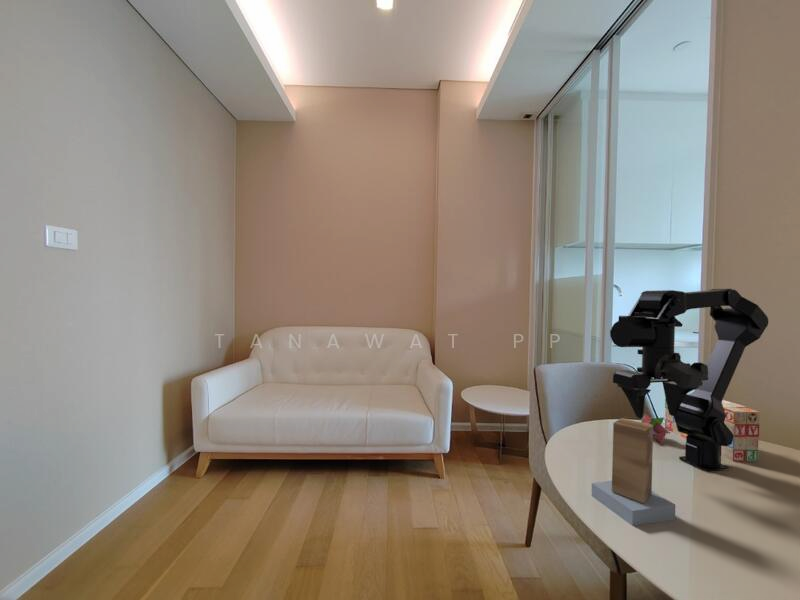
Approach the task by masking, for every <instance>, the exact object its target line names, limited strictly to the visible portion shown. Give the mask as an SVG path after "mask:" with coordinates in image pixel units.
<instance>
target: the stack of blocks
mask: <svg viewBox="0 0 800 600" xmlns="http://www.w3.org/2000/svg"><path fill="white" fill-rule="evenodd" d="M664 399H665V400H664V408H665V409H664V410H665V411H664V412H665V414H664V418H665V420H664V425H665V426H664V428H665V429H666V430H668V431H669V432H672V433H674V434H676V435H678V436H680V437H683V438H684V439H686V436H688V435H687V434H685V433H682V432H678V430H677V426H676V422H675V419H674V416H672V415H670V414H669V411H668V407H667V402H666V397H665V398H664ZM722 405H723V408H724V411H725V414H726V417H725V421H724V423H725V425H726V426H727V427H728V428H729V430H730V431H731V432H732V433H733V435H734V437H733V441H732V444H729V446H721V457H723V458H725V459H727V460H729V461H731V462H741V463H742V462H752V463H753V462H755V463H757V462H759V461H758V460H759V442H760V441H759V437H760V417H761V412H760V411H758V410H755V409H753V408H749V407H747V406H745V405H742V404H738V403H735V402H731V401H728V400H725V399H722ZM665 423H667V424H665ZM666 427H667V428H666ZM668 428H669V429H668Z"/></svg>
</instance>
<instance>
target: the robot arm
mask: <svg viewBox="0 0 800 600" xmlns="http://www.w3.org/2000/svg"><path fill="white" fill-rule="evenodd" d="M723 306H724V307H726V308H723ZM729 307H730V308H729ZM702 308H704V309H705V308H709V310H710V311H709V316H710V317H711V318H712V319H713V320H714V322H715V324H714V330H715V333H716V336H717V341H716V343H715V344H714V347H713V349H712V352H711V354H710V356H709V359H708V361H707V362H706V364H705V363H703V362H693V363H692V364H691V363H689V362H688V363H686V362H683V361H682V360H681V359H682V357H681V354H680V353H679V352H675V338H676V337H675V334H676V332H675V331H676V330H675V329H676V328H681V327H683V323H682V322H681V321H680V320H678V319H677V318H676V316H680V315H683V314H685V313H686V312H687V311H688V310H689V311H690V310H693V309H702ZM768 325H769V317H768V316H767V314H766V313H765V312H764V310H762V309H761V307H760V306H759V305H758V304H757V303H754V302H753V301H751V300H749V299H747V298H746V297H743V296H742V295H741V294H740V293H739V292H738V290H736V289H733V288H711V289H709V290H707V289H706V290H700V291H699V290H698V291H687V292H685V291H682V290H681V291H680V290H670V289H669V290H666V289H665V290H644V291H642V292H641V293H640V296H639V297H638V299H637V301H636V302H635V304H634V305H633V307H632V309H631V310H630V312H629V313H628V315H619V316H618V321H616V322H615V323H614V324H613V325H612V326H611V328H610V332H609V335H610V339H611V342H612V343H613V344H615V346H616V347H619V348H641V349H637V355H641V366H639V367H637V368H636V371H634V370H630V369H628V370H627V369H625V370H624V369H623V370H615V372H613V373H612V383H613V384H617V387H619V388H621V390H622V391H623V393H624V395H625V396H626V398H627V400H628V402H629V404H630V406H631V408H632V410H633V413H634V414H635V416H636V418H638V419H640V420H642V417H643V416H644V411H645V410H644V409H645V400H646V395H648V394H649V393H650V392H651V389H649V387H650V386H651V384H652V383H662V387H663V391H664V396H665V398H666V402H667V407H668V411H669V414H670V415H672V416H674V419H675V422H676V426H677V430H678V432H682V433H685V434H687V435H688V436H686V438H685V449H684V452H685V453H684V454H685V455H681V456H679V457H678V459H679V460H681V461H682V462H685V463H687V464H689V465H692V466H694V467H696V468H699V469H700V470H703V471H705V472H716V471H724V470H729V466H728V465H726V464H723V463H722V456H721V446H729V444H732V441H733V437H734V435H733V433H732V432H731V431H730V430H729V428H728V427H727V426H726V425H725V423H724V421H725V417H726V414H725V411H724V408H723V405H722V400H724V397H725V395H726V393H727V390H728V388H729V385H730V384H731V381H732V379H733V377H734V375H735V371H736V369H737V367H738V365H739V363H740V360H741V359H742V355H743V354H744V351H745V349H746V347H748V346H750V345H751V344H752V343H754V342H756V341H757V340H759V339H760V338H761V337H762V335H763V334H764V332H765V330H766V328H768Z"/></svg>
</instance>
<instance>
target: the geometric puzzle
mask: <svg viewBox="0 0 800 600" xmlns="http://www.w3.org/2000/svg"><path fill="white" fill-rule="evenodd" d="M652 416H655V415H651V414H648V413H645V414H643V417H642V418H641V419H640V422H642V423H646V424H651V425H653V437H655V438H654V439H655V440H656V441H657V442H659V444H663V442H664V441H665V439H667V437H666V435H667V434H670V433H671V431H670V430H668V429H669V428H668V429H666V428H667V427H666V428H665V426H663V425H662V424H663V422H664V421H665V419H666V418H665V417H656V418H655V417H652ZM665 424H667V423H665V422H664V425H665Z"/></svg>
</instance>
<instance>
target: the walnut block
mask: <svg viewBox="0 0 800 600" xmlns="http://www.w3.org/2000/svg"><path fill="white" fill-rule="evenodd" d="M612 424H613V429H612V431H613V432H612V435H613V436H612V465H611V466H612V467H611V470H612V471H611V472H612V473H611V481H612V492H615V493H617V494H620V495H623V496H625V497H628V498H631V499H633V500H636V501H639V502H641V503H645V502H646V500H647V499H648V498H649V497H650V495H651V494H652V491H653V490H652V488H653V486H652V485H653V484H652V483H653V452H654V451H653V450H654V449H653V448H654V447H653V446H654V445H653V444H654V440H653V439H654V438H653V425H651V424H646V423H642V422H641V421H639V420H638V421H636V420H632V419H629V418H623V417H621V418H619V419H617V420H616V421H615V422H614V421H613V423H612Z"/></svg>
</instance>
